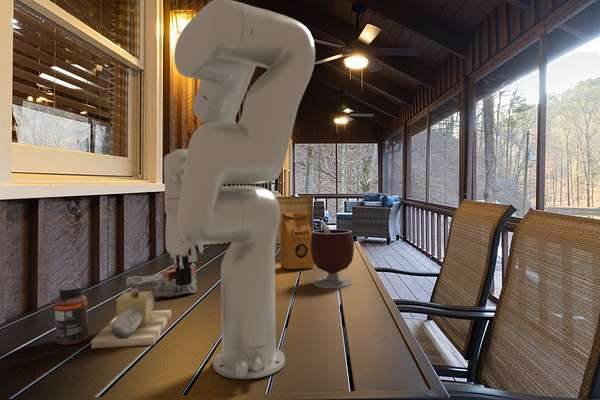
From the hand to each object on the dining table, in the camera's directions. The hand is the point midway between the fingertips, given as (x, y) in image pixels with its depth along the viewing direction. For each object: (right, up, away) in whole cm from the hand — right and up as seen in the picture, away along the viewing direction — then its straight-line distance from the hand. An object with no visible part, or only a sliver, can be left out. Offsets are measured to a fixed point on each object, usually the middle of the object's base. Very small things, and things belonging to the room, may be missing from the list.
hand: (183, 284), depth 98 cm
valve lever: (-5, +1, 0) cm, 5 cm away
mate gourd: (+38, -8, +39) cm, 54 cm away
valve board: (-9, -9, -5) cm, 14 cm away
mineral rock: (-10, -9, +26) cm, 29 cm away
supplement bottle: (-20, -10, -11) cm, 25 cm away
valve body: (-9, -8, -5) cm, 13 cm away
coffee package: (+26, -7, +64) cm, 70 cm away
